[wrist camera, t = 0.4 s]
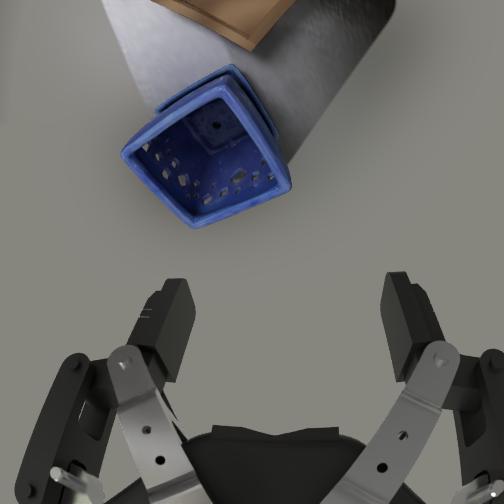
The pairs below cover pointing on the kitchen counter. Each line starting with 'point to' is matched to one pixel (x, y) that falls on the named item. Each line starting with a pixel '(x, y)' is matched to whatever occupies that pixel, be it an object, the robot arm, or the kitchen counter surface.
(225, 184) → the flower pot
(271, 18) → the tray
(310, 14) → the kitchen counter surface
